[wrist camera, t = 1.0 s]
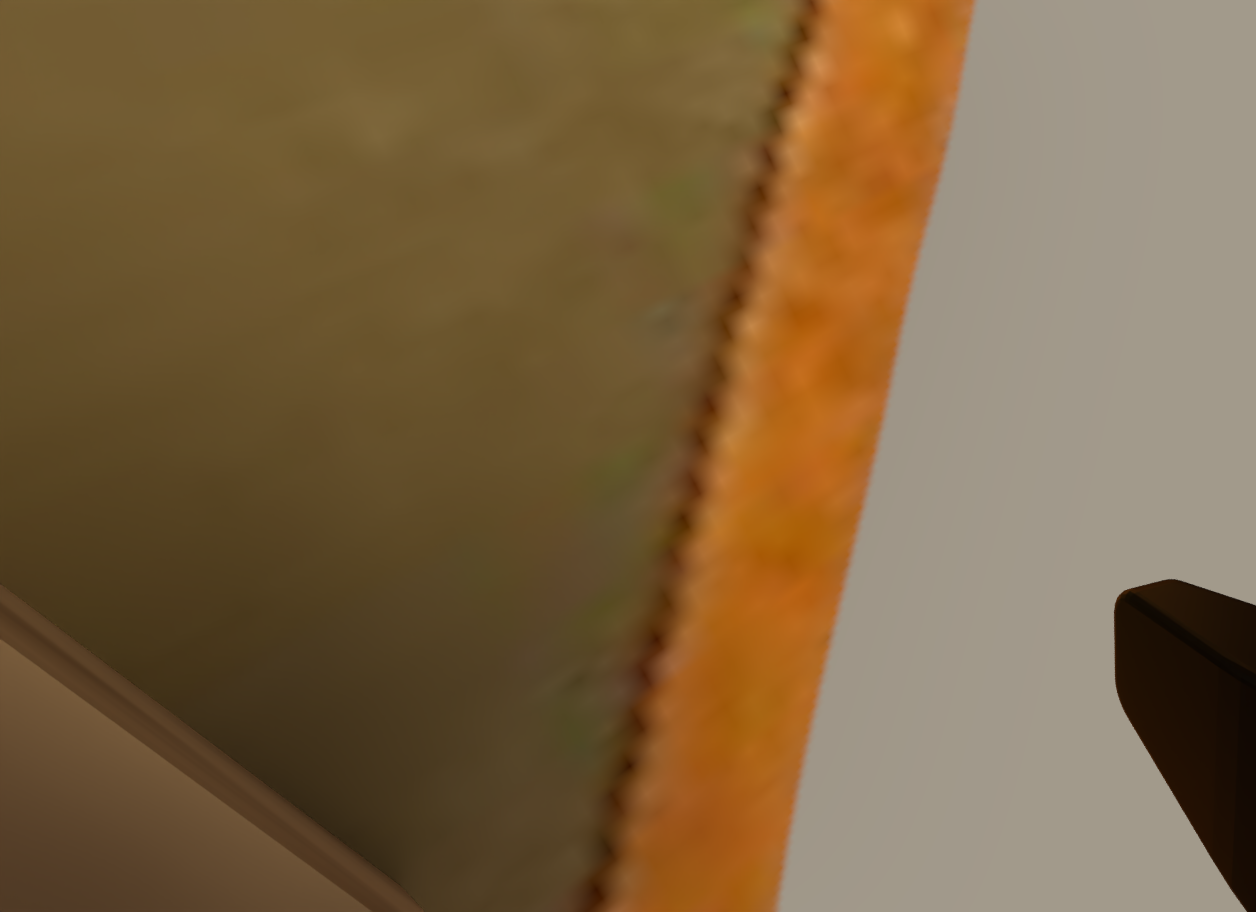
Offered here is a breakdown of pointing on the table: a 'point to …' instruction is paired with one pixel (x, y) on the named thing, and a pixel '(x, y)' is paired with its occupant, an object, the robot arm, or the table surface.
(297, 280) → the table surface
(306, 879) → the brown slab
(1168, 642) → the robot arm
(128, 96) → the table surface
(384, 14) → the table surface
